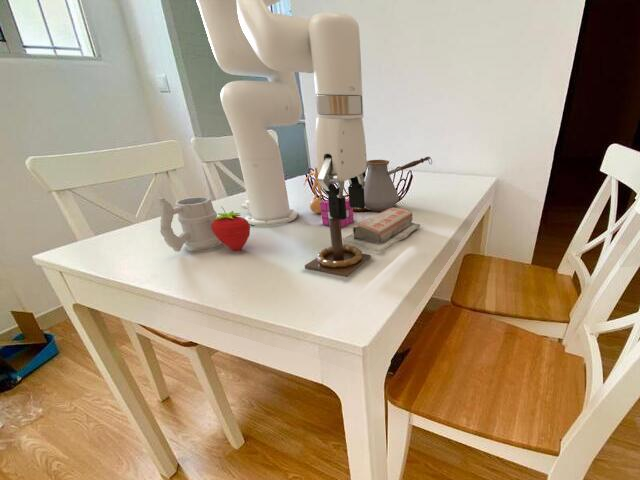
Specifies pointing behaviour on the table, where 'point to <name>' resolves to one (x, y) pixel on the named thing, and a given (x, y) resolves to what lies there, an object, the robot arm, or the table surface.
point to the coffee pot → (382, 184)
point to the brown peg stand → (337, 254)
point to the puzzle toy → (343, 222)
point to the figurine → (315, 202)
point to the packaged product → (382, 230)
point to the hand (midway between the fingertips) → (348, 211)
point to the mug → (189, 223)
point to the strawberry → (231, 230)
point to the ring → (339, 263)
